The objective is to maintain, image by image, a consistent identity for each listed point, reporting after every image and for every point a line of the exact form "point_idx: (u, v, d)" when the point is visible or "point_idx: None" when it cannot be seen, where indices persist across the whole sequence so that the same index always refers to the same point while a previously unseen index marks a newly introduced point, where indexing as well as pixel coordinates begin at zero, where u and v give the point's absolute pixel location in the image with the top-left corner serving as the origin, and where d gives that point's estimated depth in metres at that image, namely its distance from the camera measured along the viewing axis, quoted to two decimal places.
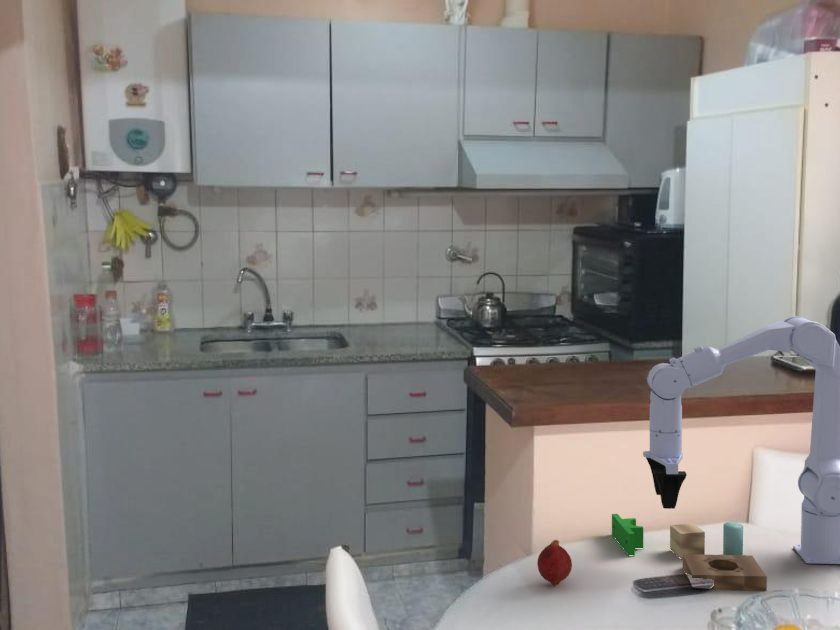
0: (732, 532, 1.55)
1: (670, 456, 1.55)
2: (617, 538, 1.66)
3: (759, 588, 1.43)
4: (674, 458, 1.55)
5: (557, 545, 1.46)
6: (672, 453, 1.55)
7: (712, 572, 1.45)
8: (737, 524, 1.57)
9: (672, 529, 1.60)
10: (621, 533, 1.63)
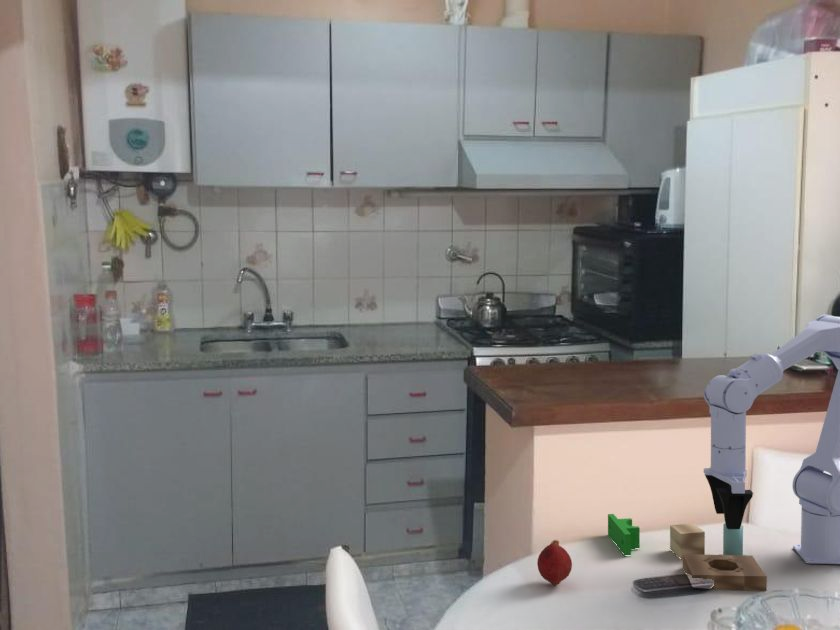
0: (732, 532, 1.55)
1: (734, 474, 1.46)
2: (613, 538, 1.66)
3: (759, 588, 1.43)
4: (738, 476, 1.46)
5: (557, 545, 1.46)
6: (736, 470, 1.46)
7: (712, 572, 1.45)
8: None
9: (672, 529, 1.60)
10: (617, 533, 1.63)
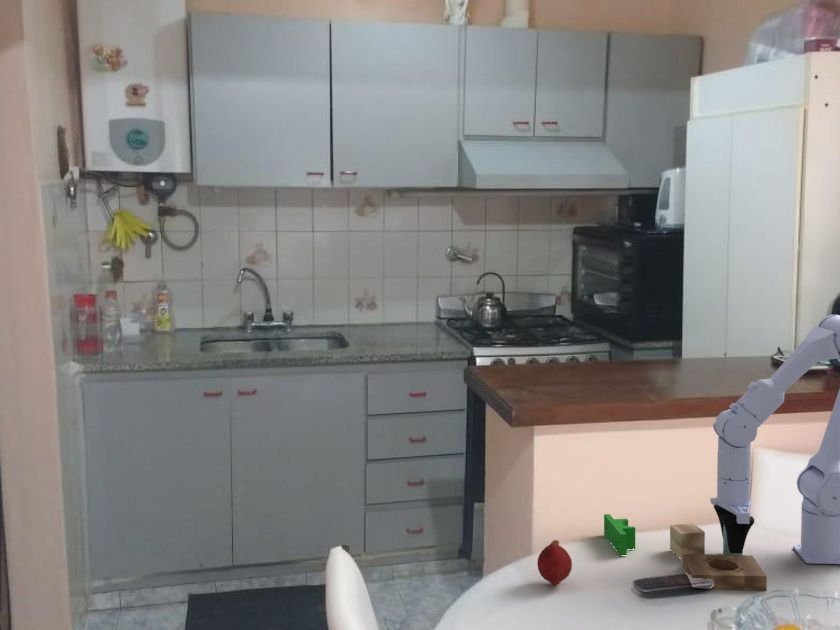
0: None
1: (739, 504, 1.53)
2: (609, 538, 1.66)
3: (759, 588, 1.43)
4: (743, 506, 1.53)
5: (557, 545, 1.46)
6: (741, 501, 1.53)
7: (712, 572, 1.45)
8: None
9: (672, 529, 1.60)
10: (613, 533, 1.63)
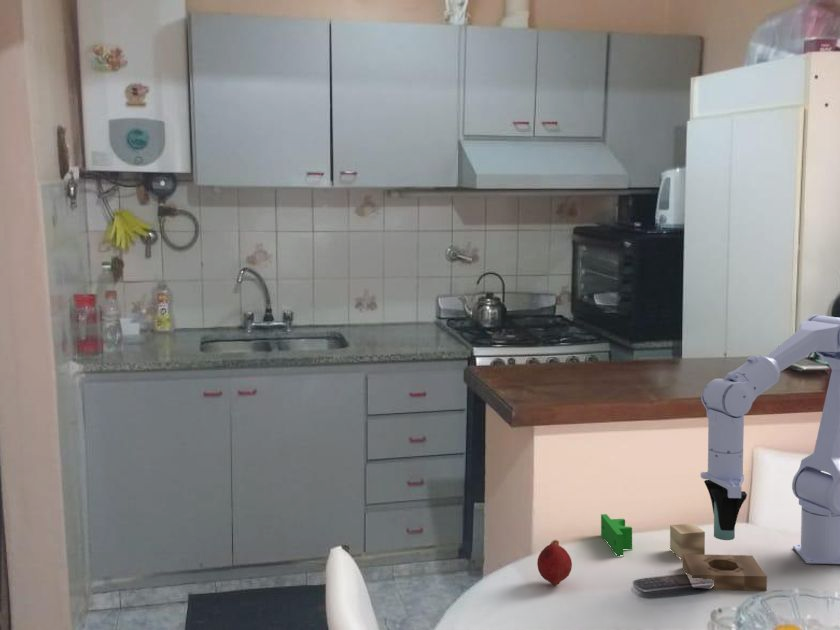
0: None
1: (731, 478, 1.44)
2: (606, 539, 1.66)
3: (759, 588, 1.43)
4: (735, 480, 1.44)
5: (557, 545, 1.46)
6: (733, 475, 1.45)
7: (712, 572, 1.45)
8: None
9: (672, 529, 1.60)
10: (610, 533, 1.63)
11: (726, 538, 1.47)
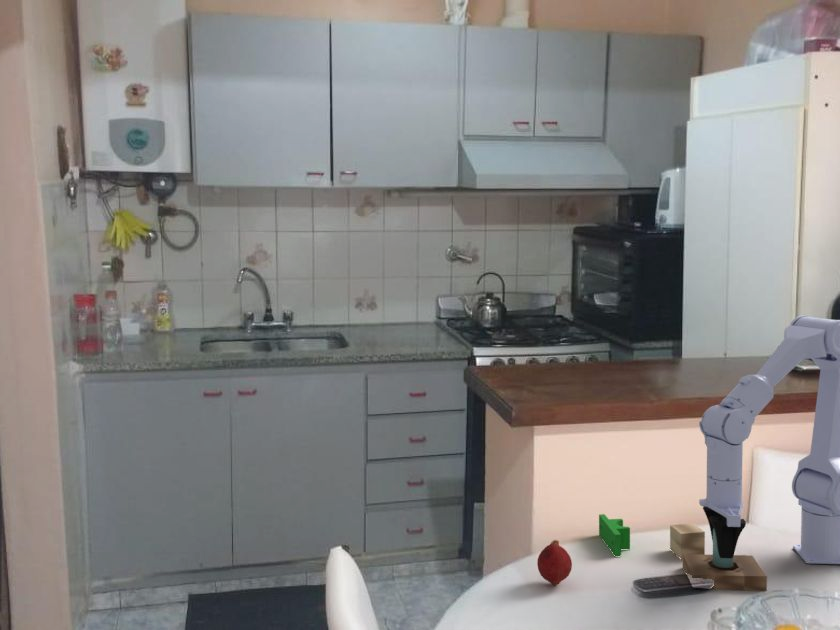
0: None
1: (730, 506, 1.44)
2: (604, 539, 1.66)
3: (759, 588, 1.43)
4: (734, 508, 1.44)
5: (557, 545, 1.46)
6: (732, 503, 1.44)
7: (712, 572, 1.45)
8: None
9: (672, 529, 1.60)
10: (607, 533, 1.63)
11: (725, 566, 1.46)
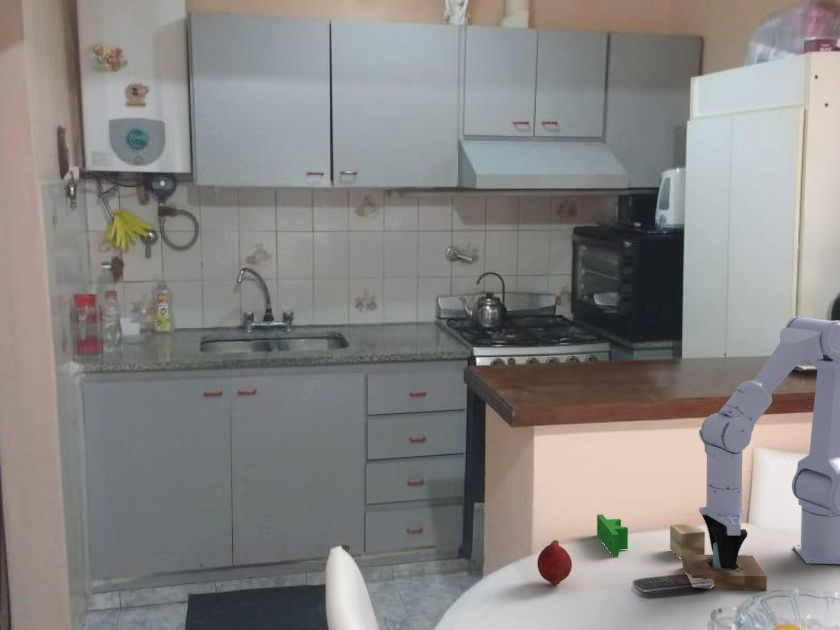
0: None
1: (730, 514, 1.44)
2: (602, 539, 1.66)
3: (759, 588, 1.43)
4: (734, 516, 1.44)
5: (557, 545, 1.46)
6: (732, 511, 1.44)
7: (712, 572, 1.45)
8: None
9: (672, 529, 1.60)
10: (605, 533, 1.63)
11: None
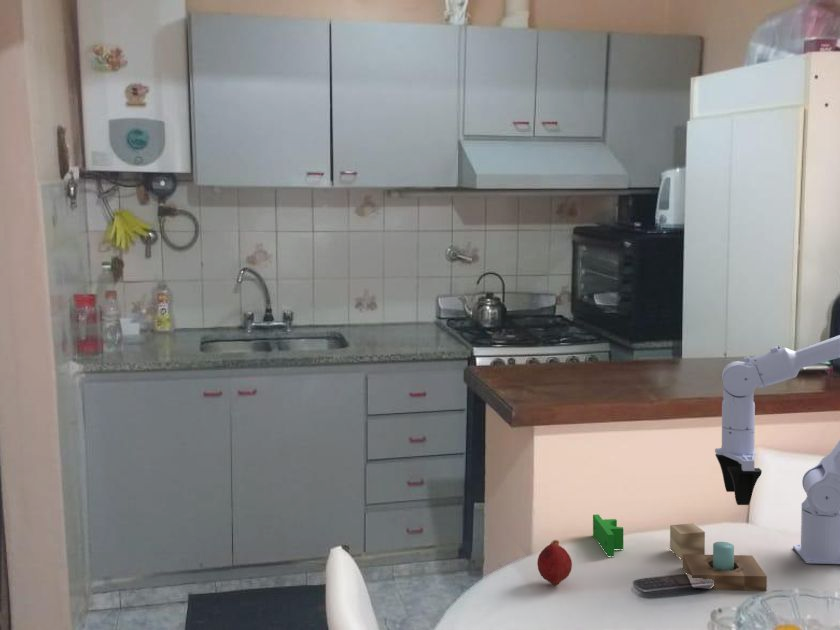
0: (724, 553, 1.46)
1: (744, 453, 1.56)
2: (598, 539, 1.66)
3: (759, 588, 1.43)
4: (748, 455, 1.56)
5: (557, 545, 1.46)
6: (745, 450, 1.56)
7: (712, 572, 1.45)
8: (727, 544, 1.48)
9: (672, 529, 1.60)
10: (601, 533, 1.63)
11: None
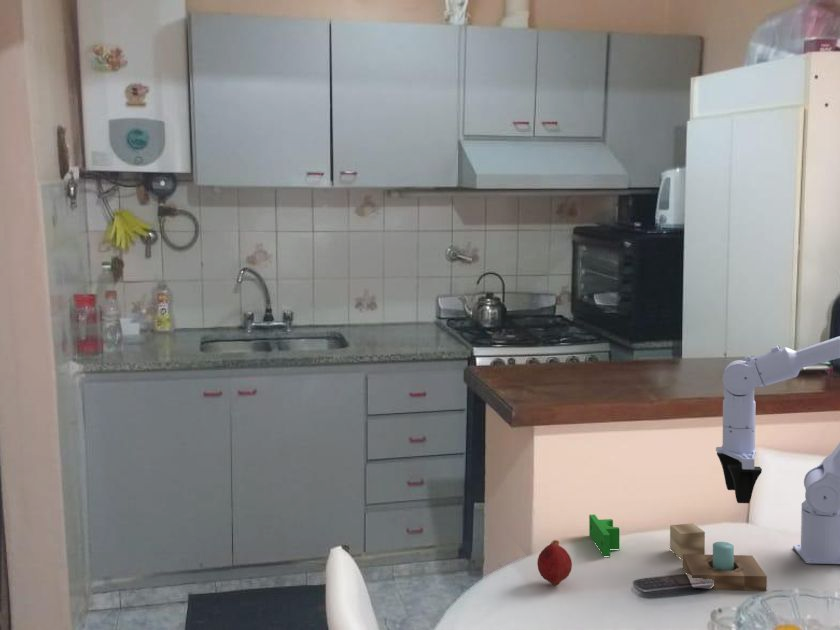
0: (723, 553, 1.46)
1: (744, 451, 1.57)
2: (594, 539, 1.66)
3: (759, 588, 1.43)
4: (748, 453, 1.57)
5: (557, 545, 1.46)
6: (746, 449, 1.57)
7: (712, 572, 1.45)
8: (727, 544, 1.48)
9: (672, 529, 1.60)
10: (597, 533, 1.63)
11: None
